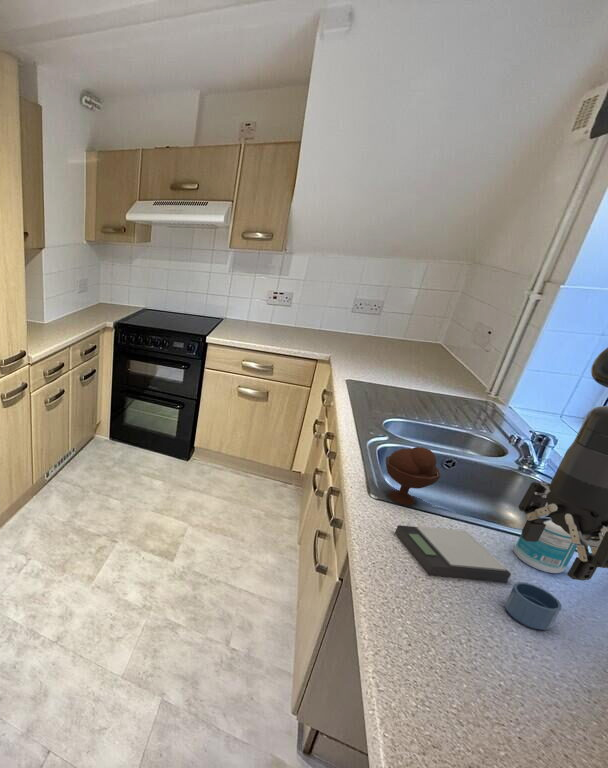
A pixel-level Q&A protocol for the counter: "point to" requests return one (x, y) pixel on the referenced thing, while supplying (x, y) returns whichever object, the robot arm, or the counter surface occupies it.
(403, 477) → the ice cream bowl
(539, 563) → the pill bottle
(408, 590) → the counter surface
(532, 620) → the blue cup
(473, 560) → the kitchen scale
